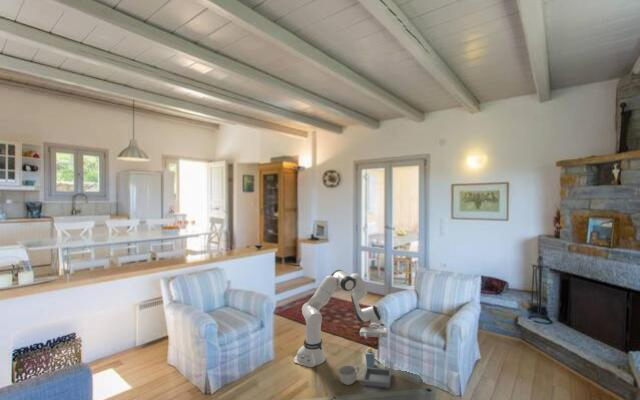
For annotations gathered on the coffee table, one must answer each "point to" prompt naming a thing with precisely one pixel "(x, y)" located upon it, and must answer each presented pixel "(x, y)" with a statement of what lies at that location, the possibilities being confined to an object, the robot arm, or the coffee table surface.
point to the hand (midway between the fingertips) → (372, 337)
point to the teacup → (348, 374)
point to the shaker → (370, 359)
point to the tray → (377, 377)
